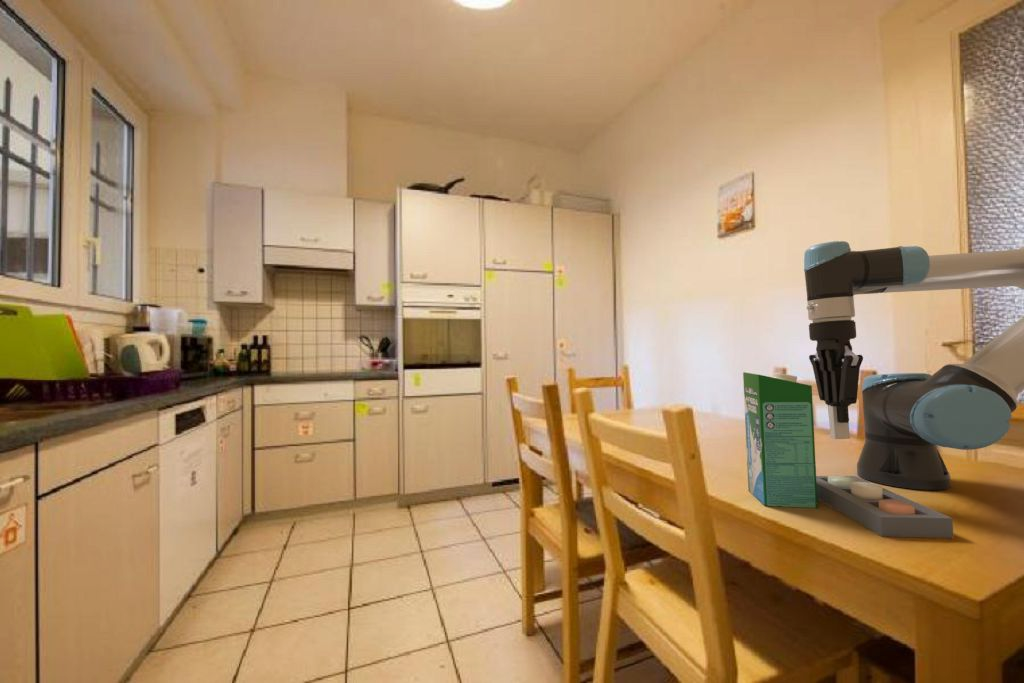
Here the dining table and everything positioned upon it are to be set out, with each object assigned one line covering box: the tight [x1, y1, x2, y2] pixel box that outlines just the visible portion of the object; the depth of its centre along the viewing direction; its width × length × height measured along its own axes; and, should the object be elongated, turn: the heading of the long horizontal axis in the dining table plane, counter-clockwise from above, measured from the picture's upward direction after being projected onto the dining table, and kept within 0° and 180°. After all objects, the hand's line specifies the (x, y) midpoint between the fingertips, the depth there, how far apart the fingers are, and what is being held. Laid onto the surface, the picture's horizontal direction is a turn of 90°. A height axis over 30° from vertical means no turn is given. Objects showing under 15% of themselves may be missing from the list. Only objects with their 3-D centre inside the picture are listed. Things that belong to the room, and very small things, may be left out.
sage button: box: [827, 474, 856, 486], centre depth 84 cm, size 4×4×3 cm
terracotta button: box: [879, 500, 915, 515], centre depth 70 cm, size 4×4×3 cm
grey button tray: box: [816, 475, 954, 539], centre depth 77 cm, size 22×10×3 cm, turn 173°
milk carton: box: [742, 371, 819, 509], centre depth 84 cm, size 9×9×25 cm
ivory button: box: [851, 482, 883, 499], centre depth 77 cm, size 4×4×3 cm
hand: (840, 438), depth 85 cm, fingers closed
